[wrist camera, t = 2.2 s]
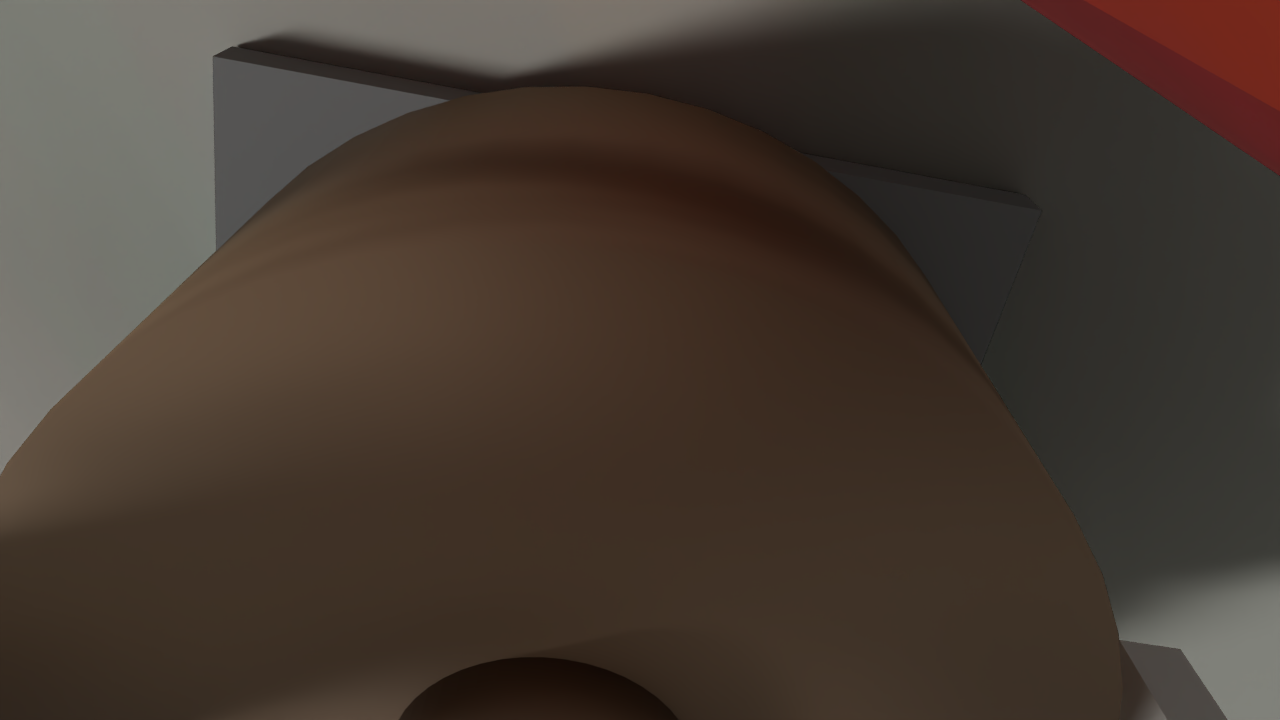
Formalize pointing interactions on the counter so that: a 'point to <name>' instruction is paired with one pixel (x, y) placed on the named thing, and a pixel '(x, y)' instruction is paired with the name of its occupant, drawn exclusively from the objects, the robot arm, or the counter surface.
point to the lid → (548, 456)
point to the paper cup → (1193, 58)
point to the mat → (359, 101)
